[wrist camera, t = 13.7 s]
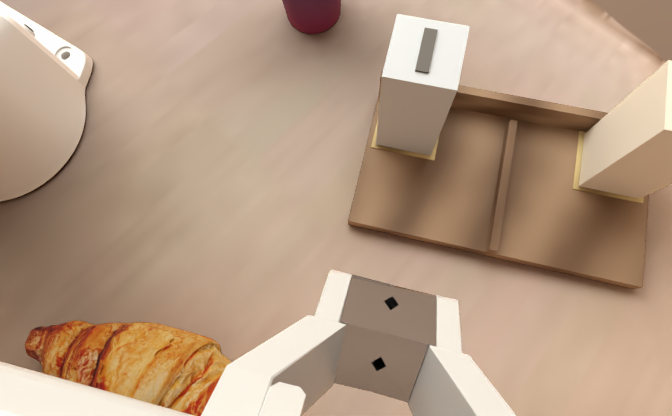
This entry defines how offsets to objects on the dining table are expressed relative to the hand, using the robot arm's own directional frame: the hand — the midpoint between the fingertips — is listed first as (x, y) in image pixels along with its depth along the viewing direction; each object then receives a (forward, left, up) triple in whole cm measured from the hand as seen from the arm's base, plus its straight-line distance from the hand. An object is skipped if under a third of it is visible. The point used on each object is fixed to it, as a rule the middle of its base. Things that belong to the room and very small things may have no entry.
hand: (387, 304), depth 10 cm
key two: (+6, +22, -23) cm, 32 cm away
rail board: (0, +15, -24) cm, 29 cm away
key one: (-8, +14, -23) cm, 28 cm away
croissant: (-7, -14, -25) cm, 29 cm away
